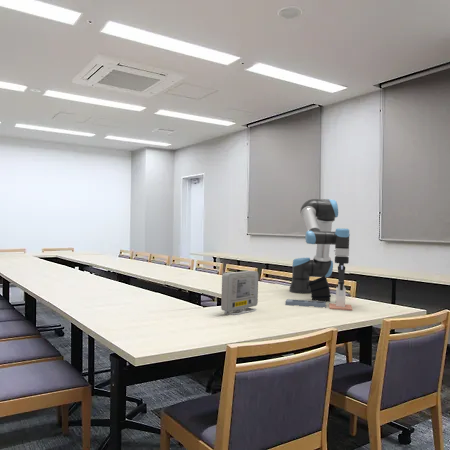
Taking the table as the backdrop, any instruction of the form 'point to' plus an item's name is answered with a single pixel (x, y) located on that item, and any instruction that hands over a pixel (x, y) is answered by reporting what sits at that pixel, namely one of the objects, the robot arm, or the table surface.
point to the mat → (347, 307)
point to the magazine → (320, 289)
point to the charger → (340, 298)
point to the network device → (239, 292)
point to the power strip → (305, 303)
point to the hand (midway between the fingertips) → (340, 294)
